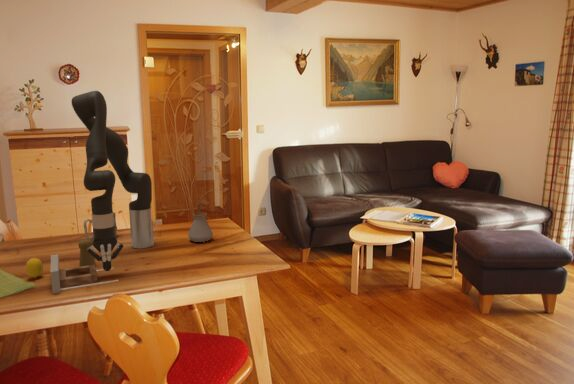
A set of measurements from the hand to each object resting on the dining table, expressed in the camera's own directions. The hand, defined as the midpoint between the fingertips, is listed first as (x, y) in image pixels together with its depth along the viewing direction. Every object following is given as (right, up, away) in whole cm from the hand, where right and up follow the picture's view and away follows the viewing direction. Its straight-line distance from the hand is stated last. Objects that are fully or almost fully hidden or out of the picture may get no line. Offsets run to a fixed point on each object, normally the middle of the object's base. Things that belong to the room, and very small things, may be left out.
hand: (107, 270), depth 175 cm
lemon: (-26, -3, -1) cm, 26 cm away
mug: (-21, +6, +48) cm, 53 cm away
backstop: (-6, -3, -3) cm, 8 cm away
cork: (-12, -1, +11) cm, 16 cm away
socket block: (-9, -3, -4) cm, 10 cm away
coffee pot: (+25, +7, +51) cm, 57 cm away
